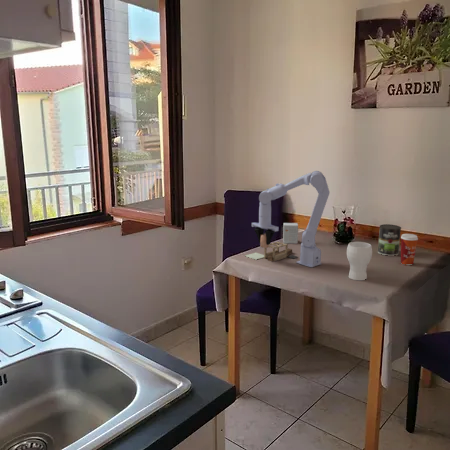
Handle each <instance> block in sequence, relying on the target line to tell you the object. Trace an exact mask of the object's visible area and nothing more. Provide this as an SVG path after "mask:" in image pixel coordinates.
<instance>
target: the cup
mask: <svg viewBox="0 0 450 450" xmlns="http://www.w3.org/2000/svg"><path fill="white" fill-rule="evenodd" d="M372 248H373V247H372V245H371V244H370V243H368V242H365V241H351V242H349V243H348V245H347V248H346V257H347V260H348V263H349V272H348V278H349V279H350V280H353V281H365V279H366V280H367V279H368V275H367V268H368V265H369V263H371V262H370V261H371V260H372V256H373V249H372Z"/></svg>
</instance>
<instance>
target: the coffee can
mask: <svg viewBox="0 0 450 450" xmlns="http://www.w3.org/2000/svg"><path fill="white" fill-rule="evenodd" d="M401 229H402V227H401V226H400V225H396V224H388V223H387V224H380V225H379V233H378V234H379V235H378V246H377V253H378V255H381V254H382V256H385V255H388V256H387V257H395V256H394V255H396V256H398V255H399V253H400V252H399V251H400V243H401V231H402V230H401Z"/></svg>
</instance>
